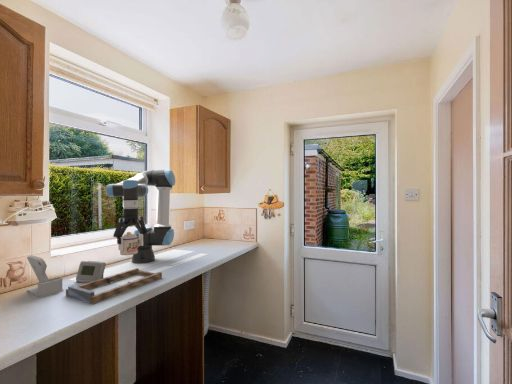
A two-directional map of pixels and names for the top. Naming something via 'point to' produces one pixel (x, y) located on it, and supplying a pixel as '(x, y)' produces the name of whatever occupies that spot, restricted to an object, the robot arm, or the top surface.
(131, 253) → the teacup with lid
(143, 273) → the open rectangular wooden frame
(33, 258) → the phone holder
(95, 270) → the digital clock
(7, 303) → the top surface
